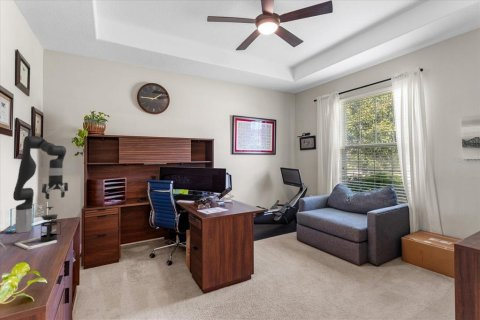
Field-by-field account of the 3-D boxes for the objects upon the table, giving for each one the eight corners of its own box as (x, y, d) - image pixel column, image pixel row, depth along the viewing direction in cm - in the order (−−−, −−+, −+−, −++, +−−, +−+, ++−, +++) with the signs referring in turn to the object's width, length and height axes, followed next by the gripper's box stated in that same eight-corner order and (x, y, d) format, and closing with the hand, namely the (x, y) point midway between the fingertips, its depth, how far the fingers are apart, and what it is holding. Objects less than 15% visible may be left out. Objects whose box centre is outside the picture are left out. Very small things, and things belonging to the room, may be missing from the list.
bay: (14, 244, 150) (14, 242, 150) (43, 237, 164) (43, 236, 164) (27, 249, 142) (27, 247, 142) (56, 242, 155) (56, 240, 155)
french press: (37, 243, 152) (38, 208, 153) (40, 239, 160) (41, 206, 161) (59, 240, 159) (60, 207, 159) (61, 236, 167) (62, 204, 167)
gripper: (64, 174, 166) (64, 196, 166) (40, 174, 153) (39, 199, 153) (70, 174, 163) (69, 197, 162) (46, 175, 150) (45, 200, 150)
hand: (55, 198), depth 158 cm, fingers open, 8 cm apart
